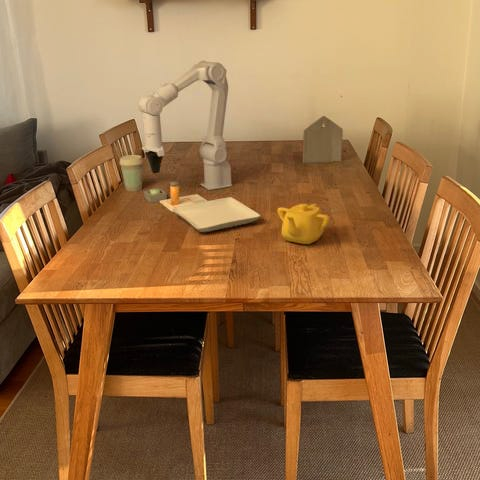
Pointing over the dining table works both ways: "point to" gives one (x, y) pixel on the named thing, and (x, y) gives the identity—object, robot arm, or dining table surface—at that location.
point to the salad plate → (216, 214)
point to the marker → (174, 193)
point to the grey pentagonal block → (322, 142)
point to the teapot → (303, 223)
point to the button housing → (155, 196)
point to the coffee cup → (132, 172)
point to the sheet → (183, 201)
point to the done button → (154, 191)
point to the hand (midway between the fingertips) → (155, 172)
